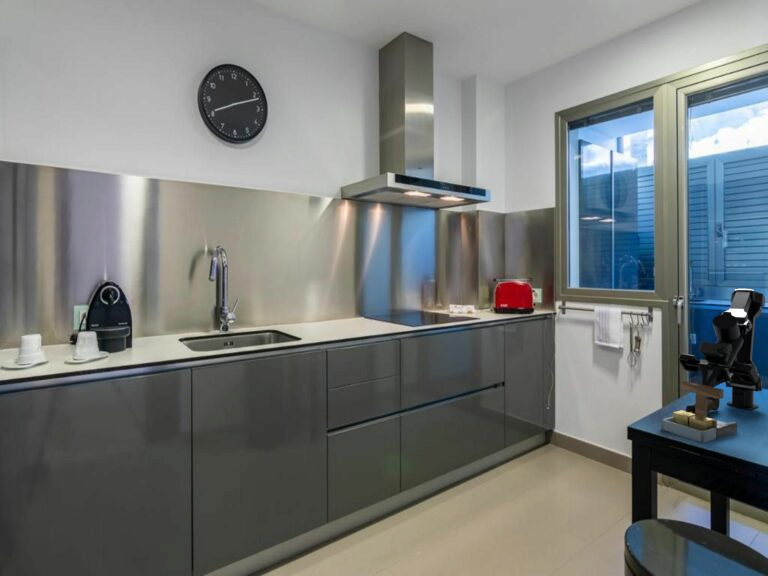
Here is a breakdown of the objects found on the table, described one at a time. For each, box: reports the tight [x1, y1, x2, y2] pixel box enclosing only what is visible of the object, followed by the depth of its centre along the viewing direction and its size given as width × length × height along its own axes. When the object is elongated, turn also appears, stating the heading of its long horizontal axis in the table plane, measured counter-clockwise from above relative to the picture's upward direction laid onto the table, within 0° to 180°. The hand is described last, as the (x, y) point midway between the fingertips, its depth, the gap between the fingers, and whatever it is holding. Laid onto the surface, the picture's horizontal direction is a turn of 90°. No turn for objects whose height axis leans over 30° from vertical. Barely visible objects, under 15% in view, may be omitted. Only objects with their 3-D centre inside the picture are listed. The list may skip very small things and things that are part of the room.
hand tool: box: [685, 396, 721, 413], centre depth 134 cm, size 19×4×5 cm, turn 119°
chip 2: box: [689, 415, 713, 431], centre depth 117 cm, size 4×4×3 cm
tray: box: [660, 416, 717, 444], centre depth 119 cm, size 6×11×3 cm, turn 25°
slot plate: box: [689, 411, 738, 440], centre depth 122 cm, size 10×11×3 cm
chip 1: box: [672, 410, 696, 427], centre depth 121 cm, size 4×4×3 cm
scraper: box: [680, 380, 725, 428], centre depth 121 cm, size 3×10×11 cm, turn 26°
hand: (704, 390), depth 121 cm, fingers closed, pressing on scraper
